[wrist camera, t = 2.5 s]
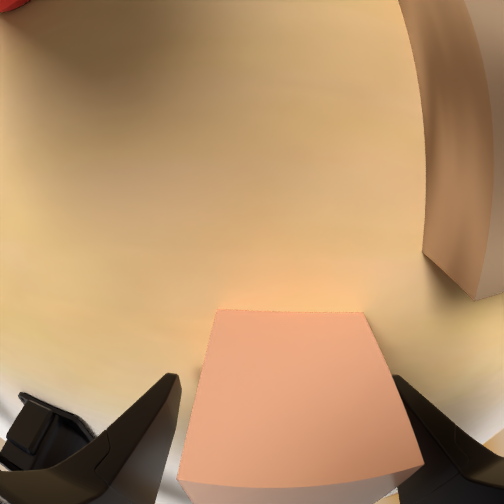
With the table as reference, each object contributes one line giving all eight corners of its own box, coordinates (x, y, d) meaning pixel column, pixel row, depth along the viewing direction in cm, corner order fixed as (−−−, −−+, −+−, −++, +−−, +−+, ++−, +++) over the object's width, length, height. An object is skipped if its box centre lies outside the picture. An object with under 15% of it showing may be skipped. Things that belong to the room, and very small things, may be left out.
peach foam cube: (333, 398, 11) (353, 516, 6) (222, 397, 11) (205, 520, 6) (361, 311, 9) (424, 464, 4) (217, 308, 9) (176, 478, 4)
